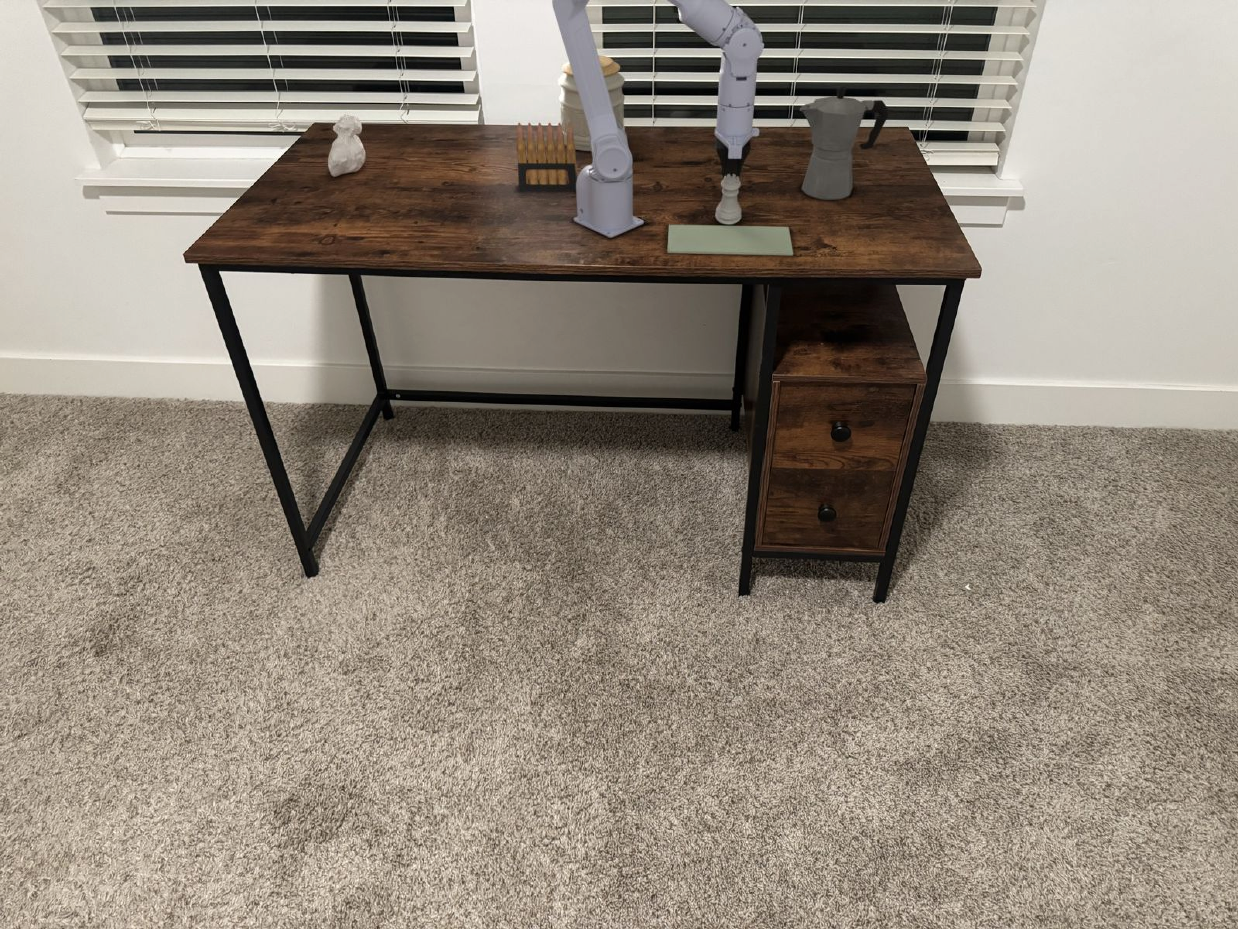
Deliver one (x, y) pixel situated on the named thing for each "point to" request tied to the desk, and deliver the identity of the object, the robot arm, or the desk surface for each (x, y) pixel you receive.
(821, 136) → the coffeepot
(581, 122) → the jar
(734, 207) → the rook chess piece
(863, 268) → the desk surface
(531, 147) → the ammunition clip
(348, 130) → the white tied sack
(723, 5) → the robot arm
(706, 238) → the mat
